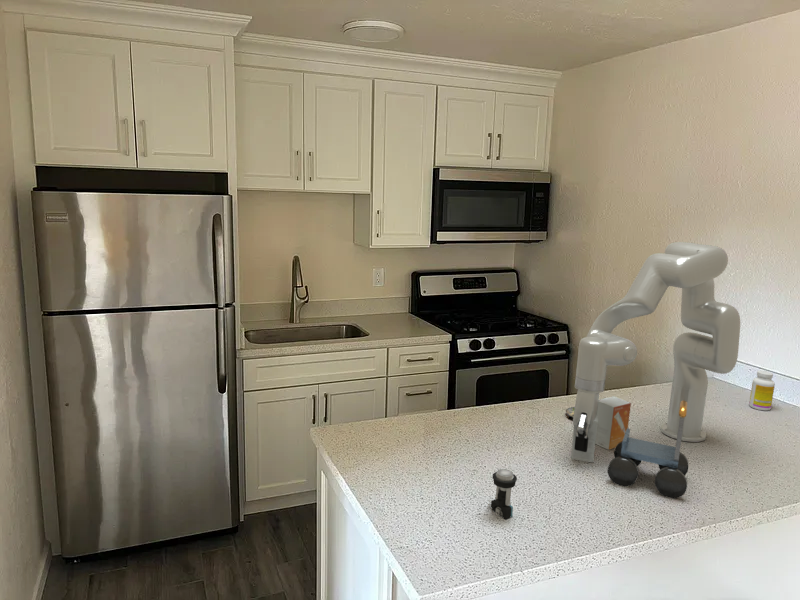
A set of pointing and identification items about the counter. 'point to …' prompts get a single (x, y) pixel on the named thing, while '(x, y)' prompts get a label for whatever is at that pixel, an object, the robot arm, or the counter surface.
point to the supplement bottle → (762, 391)
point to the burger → (570, 412)
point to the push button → (503, 493)
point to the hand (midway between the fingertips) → (583, 444)
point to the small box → (612, 421)
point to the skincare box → (591, 437)
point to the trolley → (652, 461)
